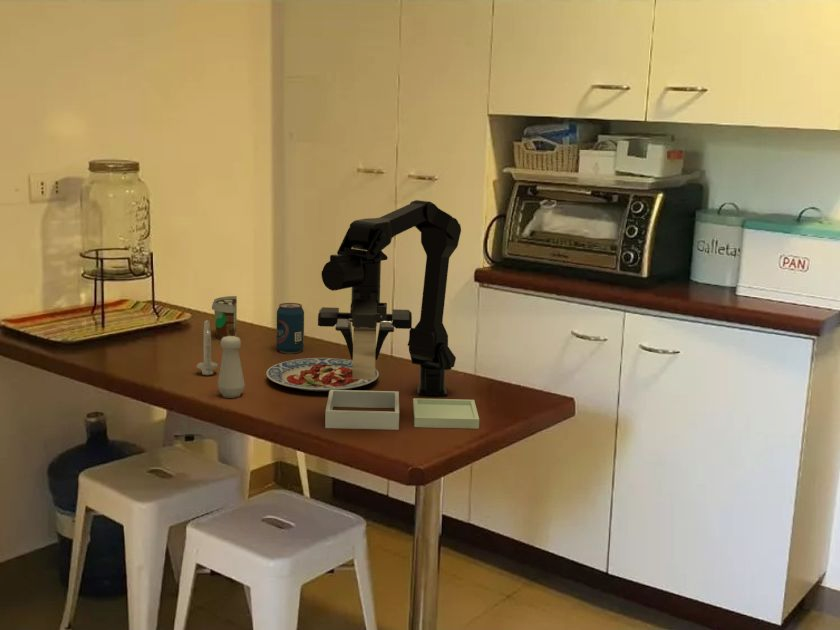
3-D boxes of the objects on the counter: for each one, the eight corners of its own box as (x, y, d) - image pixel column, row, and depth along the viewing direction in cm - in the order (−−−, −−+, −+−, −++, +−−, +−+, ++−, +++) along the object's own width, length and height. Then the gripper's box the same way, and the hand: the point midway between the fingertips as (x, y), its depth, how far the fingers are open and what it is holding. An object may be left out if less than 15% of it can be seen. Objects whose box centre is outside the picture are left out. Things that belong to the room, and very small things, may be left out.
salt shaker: (246, 391, 222) (246, 334, 219) (243, 399, 216) (242, 340, 213) (219, 390, 222) (219, 333, 219) (215, 398, 216) (215, 340, 213)
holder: (329, 405, 214) (329, 389, 213) (398, 407, 215) (398, 391, 214) (325, 428, 200) (325, 411, 199) (398, 429, 200) (399, 413, 200)
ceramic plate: (310, 360, 250) (310, 349, 249) (399, 378, 237) (399, 366, 236) (242, 384, 228) (242, 372, 227) (336, 405, 215) (337, 392, 215)
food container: (214, 331, 275) (213, 295, 273) (236, 331, 276) (236, 295, 273) (209, 342, 263) (209, 304, 261) (233, 342, 264) (233, 305, 262)
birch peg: (353, 372, 207) (354, 325, 205) (375, 373, 208) (376, 326, 205) (352, 378, 203) (353, 330, 201) (374, 379, 203) (375, 331, 201)
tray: (413, 407, 215) (413, 398, 215) (473, 408, 215) (474, 399, 215) (414, 427, 202) (414, 417, 202) (478, 428, 203) (479, 419, 202)
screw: (216, 370, 237) (219, 376, 233) (195, 371, 236) (197, 377, 231) (216, 316, 234) (218, 321, 230) (195, 317, 233) (197, 322, 228)
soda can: (271, 349, 257) (271, 304, 255) (293, 346, 262) (293, 301, 259) (286, 355, 253) (287, 309, 250) (309, 351, 257) (309, 305, 254)
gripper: (316, 290, 193) (315, 368, 196) (413, 293, 194) (410, 371, 197) (320, 279, 204) (319, 354, 207) (412, 282, 205) (409, 356, 208)
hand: (364, 359), depth 205 cm, fingers closed on birch peg, 4 cm apart
